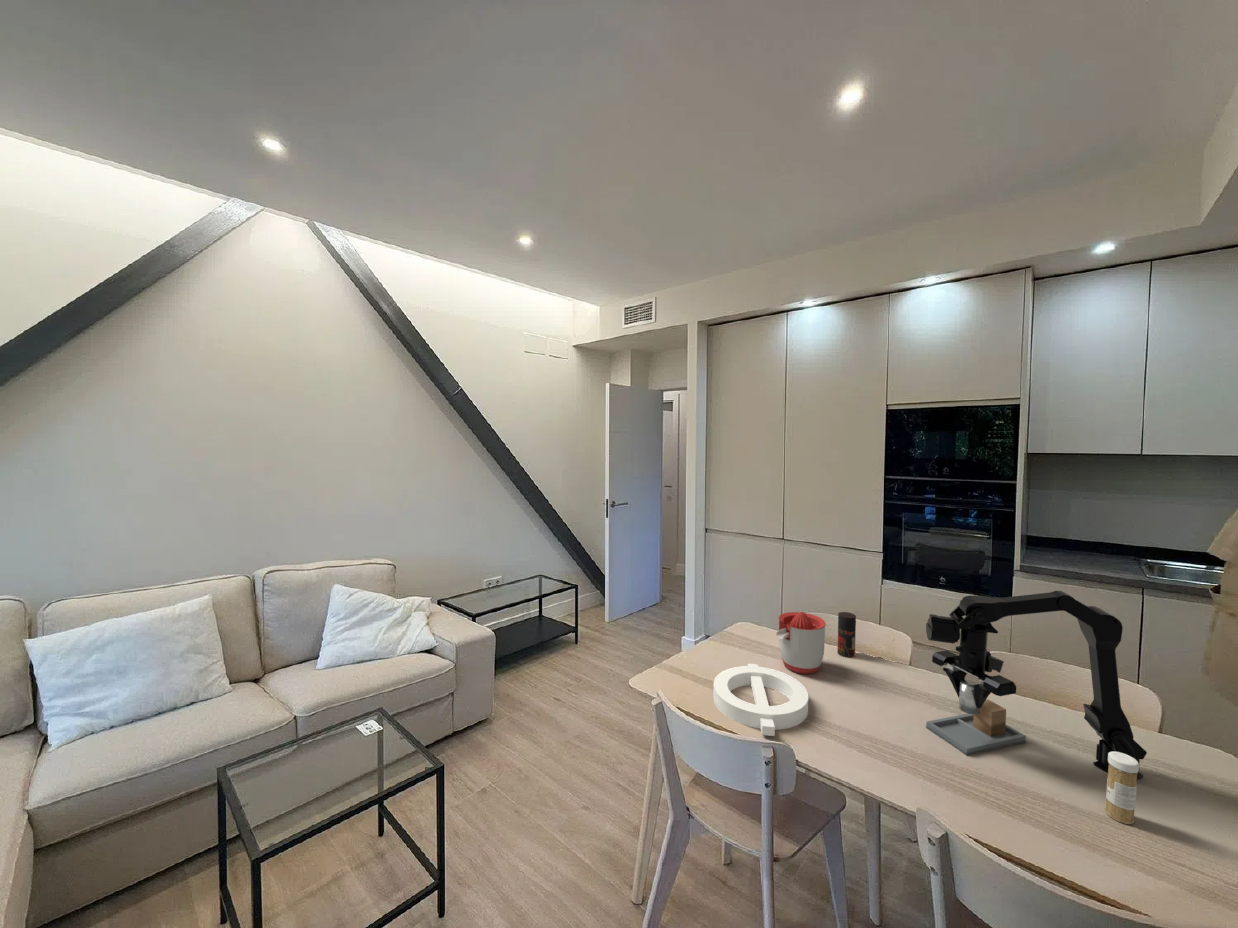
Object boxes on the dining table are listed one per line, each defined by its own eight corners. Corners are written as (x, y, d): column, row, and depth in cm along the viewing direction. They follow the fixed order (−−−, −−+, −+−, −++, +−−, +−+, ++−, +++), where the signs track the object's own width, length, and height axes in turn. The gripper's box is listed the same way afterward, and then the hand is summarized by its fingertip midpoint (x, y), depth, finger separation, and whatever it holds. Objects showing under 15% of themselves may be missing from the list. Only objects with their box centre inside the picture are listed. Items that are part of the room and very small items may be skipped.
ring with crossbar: (769, 743, 129) (769, 726, 129) (694, 697, 152) (694, 683, 152) (826, 707, 146) (827, 692, 146) (751, 671, 168) (752, 658, 168)
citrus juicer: (764, 660, 176) (765, 607, 174) (804, 653, 181) (805, 601, 179) (792, 681, 161) (793, 623, 159) (835, 673, 166) (836, 616, 165)
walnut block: (1005, 733, 131) (1006, 709, 131) (990, 736, 130) (992, 711, 130) (987, 723, 136) (988, 699, 136) (973, 725, 135) (974, 701, 134)
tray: (1025, 742, 129) (1025, 735, 128) (966, 755, 124) (966, 748, 124) (981, 716, 140) (981, 710, 140) (926, 727, 135) (926, 721, 135)
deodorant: (839, 648, 184) (840, 610, 183) (856, 653, 181) (857, 614, 180) (835, 654, 180) (836, 615, 179) (852, 659, 176) (853, 619, 175)
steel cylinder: (984, 713, 126) (986, 687, 125) (971, 715, 125) (972, 689, 124) (967, 703, 130) (968, 678, 130) (954, 705, 129) (955, 680, 128)
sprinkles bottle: (1104, 805, 107) (1107, 747, 106) (1134, 816, 104) (1137, 756, 103) (1105, 817, 104) (1108, 757, 103) (1136, 829, 100) (1140, 767, 100)
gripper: (1034, 658, 119) (1030, 718, 121) (962, 628, 137) (959, 680, 138) (1001, 663, 116) (997, 725, 118) (932, 632, 134) (929, 686, 135)
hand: (969, 702), depth 127 cm, fingers closed on steel cylinder, 5 cm apart
